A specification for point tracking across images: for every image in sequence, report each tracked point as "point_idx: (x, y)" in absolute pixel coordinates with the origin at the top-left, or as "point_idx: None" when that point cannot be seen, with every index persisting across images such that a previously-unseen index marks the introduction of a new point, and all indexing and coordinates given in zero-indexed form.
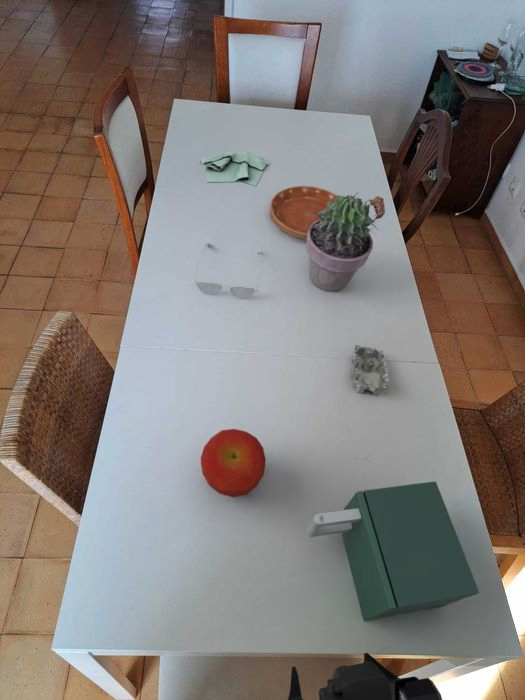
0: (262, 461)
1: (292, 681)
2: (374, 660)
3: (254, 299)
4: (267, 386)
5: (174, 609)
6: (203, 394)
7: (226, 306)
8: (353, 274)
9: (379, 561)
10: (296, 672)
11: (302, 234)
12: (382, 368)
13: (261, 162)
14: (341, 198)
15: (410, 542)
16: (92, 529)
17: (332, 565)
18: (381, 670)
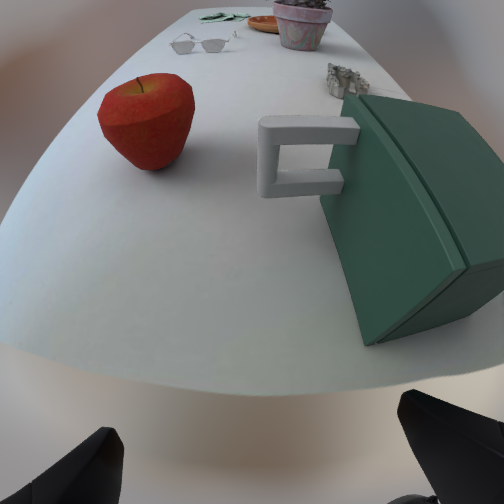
0: (184, 91)
1: (52, 470)
2: (449, 407)
3: (225, 52)
4: (227, 90)
5: (47, 311)
6: None
7: (197, 57)
8: (320, 33)
9: (412, 179)
10: (96, 448)
11: (274, 26)
12: (360, 81)
13: (244, 14)
14: None
15: (457, 161)
16: (6, 222)
17: (310, 263)
18: (490, 435)
